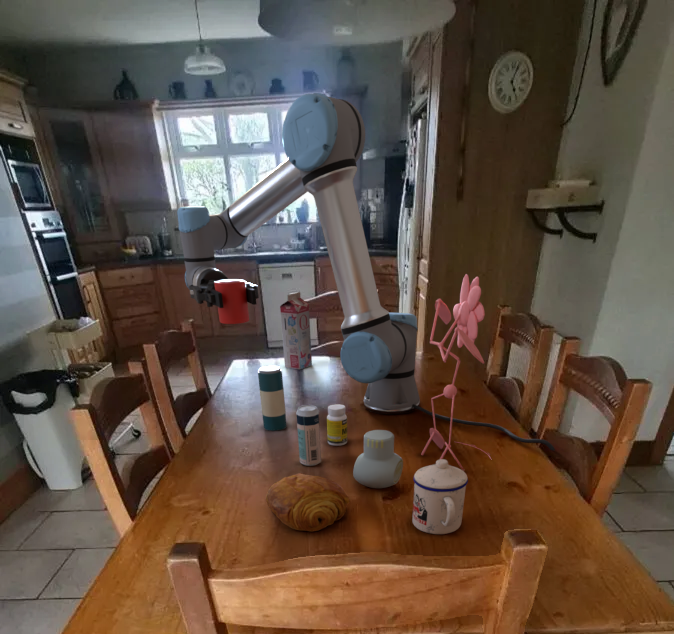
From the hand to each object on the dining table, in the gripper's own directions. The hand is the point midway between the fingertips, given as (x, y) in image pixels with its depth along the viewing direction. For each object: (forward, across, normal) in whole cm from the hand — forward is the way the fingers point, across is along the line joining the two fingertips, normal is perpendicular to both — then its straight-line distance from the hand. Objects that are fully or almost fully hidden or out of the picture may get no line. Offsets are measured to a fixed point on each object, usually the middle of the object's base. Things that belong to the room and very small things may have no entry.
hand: (237, 299), depth 116 cm
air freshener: (+37, -15, -30) cm, 50 cm away
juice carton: (-58, -34, -30) cm, 74 cm away
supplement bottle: (+13, -17, -30) cm, 37 cm away
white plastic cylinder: (+21, -7, -30) cm, 37 cm away
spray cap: (-5, 0, -5) cm, 7 cm away
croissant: (+43, +3, -30) cm, 53 cm away
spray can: (-5, -7, -30) cm, 31 cm away
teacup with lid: (+58, -16, -30) cm, 67 cm away
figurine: (+35, -36, -30) cm, 58 cm away
